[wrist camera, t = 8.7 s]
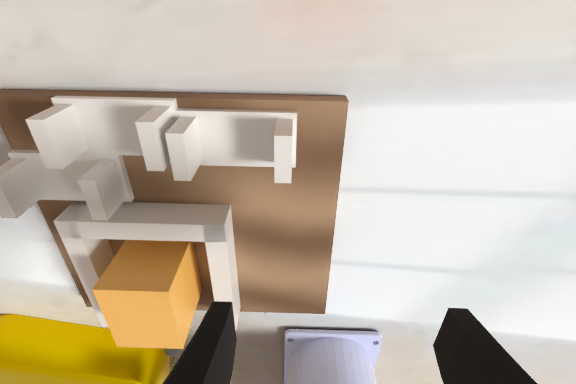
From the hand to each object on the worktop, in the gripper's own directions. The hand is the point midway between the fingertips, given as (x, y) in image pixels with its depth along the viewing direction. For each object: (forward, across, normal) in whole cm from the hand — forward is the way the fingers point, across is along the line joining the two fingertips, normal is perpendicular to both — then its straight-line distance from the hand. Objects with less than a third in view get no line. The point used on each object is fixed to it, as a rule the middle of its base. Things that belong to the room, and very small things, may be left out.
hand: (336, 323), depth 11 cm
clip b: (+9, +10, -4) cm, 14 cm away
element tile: (+10, +21, +22) cm, 32 cm away
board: (+10, +8, +3) cm, 13 cm away
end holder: (+9, +10, +6) cm, 15 cm away
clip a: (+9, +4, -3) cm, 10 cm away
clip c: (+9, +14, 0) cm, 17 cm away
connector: (+9, +10, +8) cm, 16 cm away
